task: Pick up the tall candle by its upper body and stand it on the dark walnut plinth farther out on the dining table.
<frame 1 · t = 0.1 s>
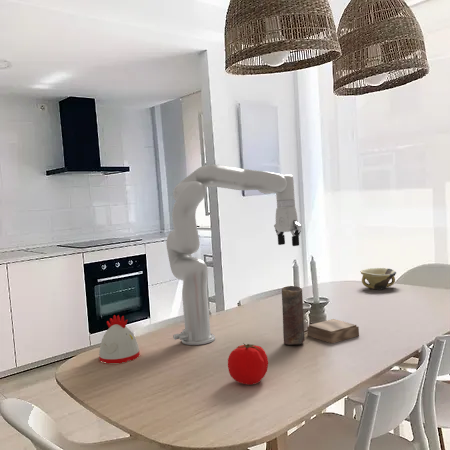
hand: (288, 245, 206), 31 cm above the table, fingers open, 9 cm apart
bowl: (379, 288, 255), on the table
kitchen timer: (119, 357, 173), on the table
plinth: (333, 335, 179), on the table
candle: (294, 344, 173), on the table
tomato: (249, 382, 141), on the table
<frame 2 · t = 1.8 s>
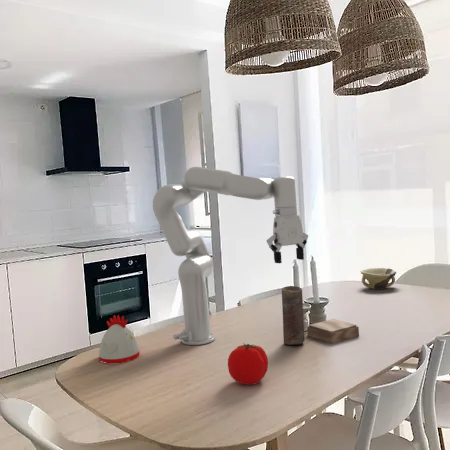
hand: (289, 261, 172), 29 cm above the table, fingers open, 9 cm apart
nothing on the table moved.
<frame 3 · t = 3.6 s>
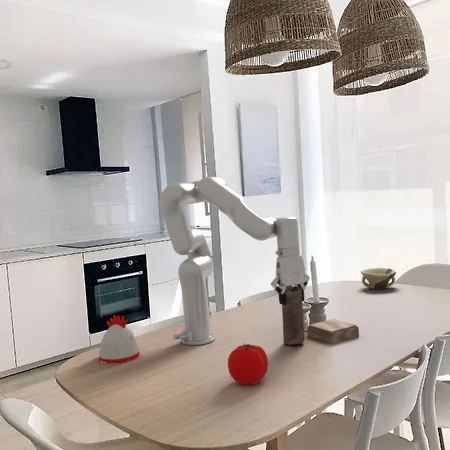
hand: (292, 302, 172), 15 cm above the table, fingers closed on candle, 7 cm apart
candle: (294, 344, 173), on the table, touching gripper
everything else where it was.
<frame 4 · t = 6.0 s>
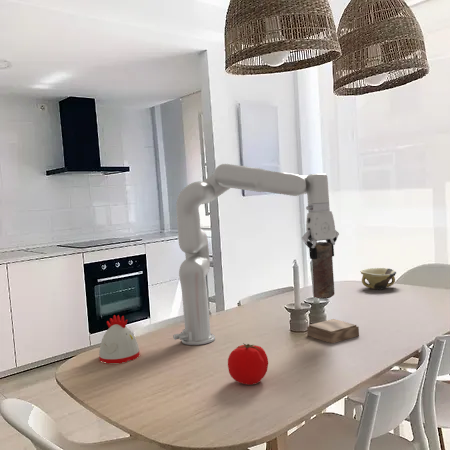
hand: (322, 257, 177), 29 cm above the table, fingers closed on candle, 7 cm apart
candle: (324, 298, 177), point 14 cm above the table, touching gripper
everything else where it was.
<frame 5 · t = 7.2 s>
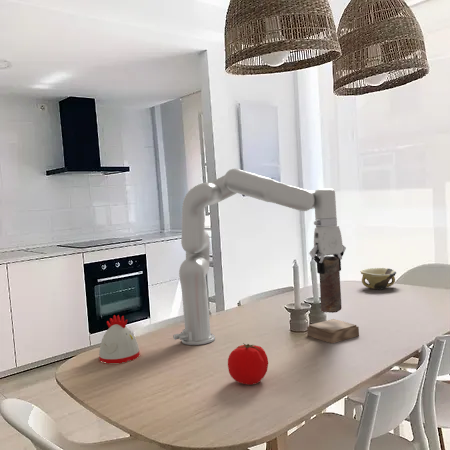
hand: (329, 271, 178), 24 cm above the table, fingers closed on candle, 7 cm apart
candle: (331, 312, 179), point 9 cm above the table, touching gripper
everything else where it was.
when the fingers open (20 cm above the table, at t = 8.4 s): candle drops 1 cm, resting on plinth.
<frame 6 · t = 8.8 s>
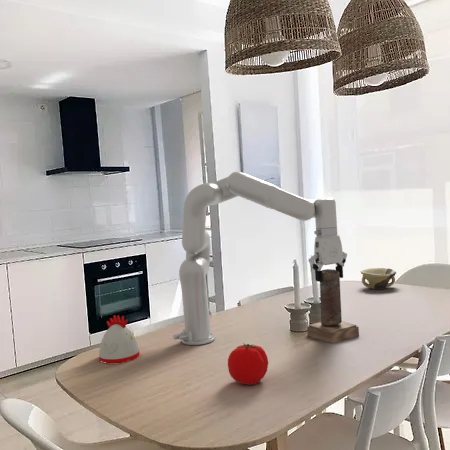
hand: (329, 279, 178), 21 cm above the table, fingers open, 9 cm apart
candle: (331, 325, 179), point 4 cm above the table, touching plinth
everything else where it was.
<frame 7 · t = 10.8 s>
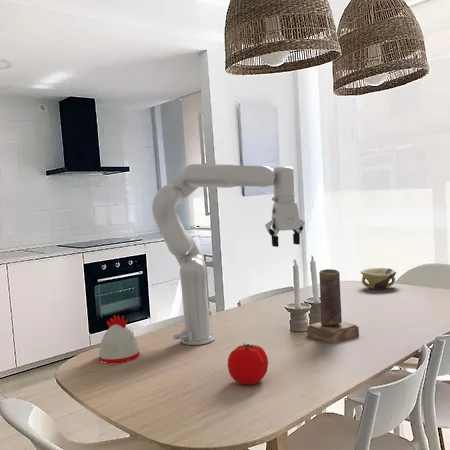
hand: (286, 245, 185), 34 cm above the table, fingers open, 9 cm apart
nothing on the table moved.
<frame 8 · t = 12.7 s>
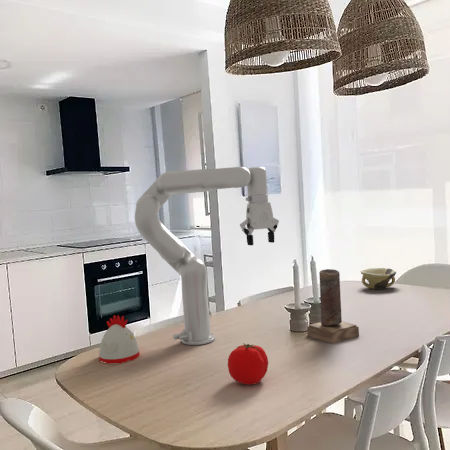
hand: (261, 243, 190), 34 cm above the table, fingers open, 9 cm apart
nothing on the table moved.
at the end: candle inside the target area on the plinth (0.2 cm from its centre), point 3.8 cm above the plinth's base; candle tilted 0°; the gripper is holding nothing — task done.
